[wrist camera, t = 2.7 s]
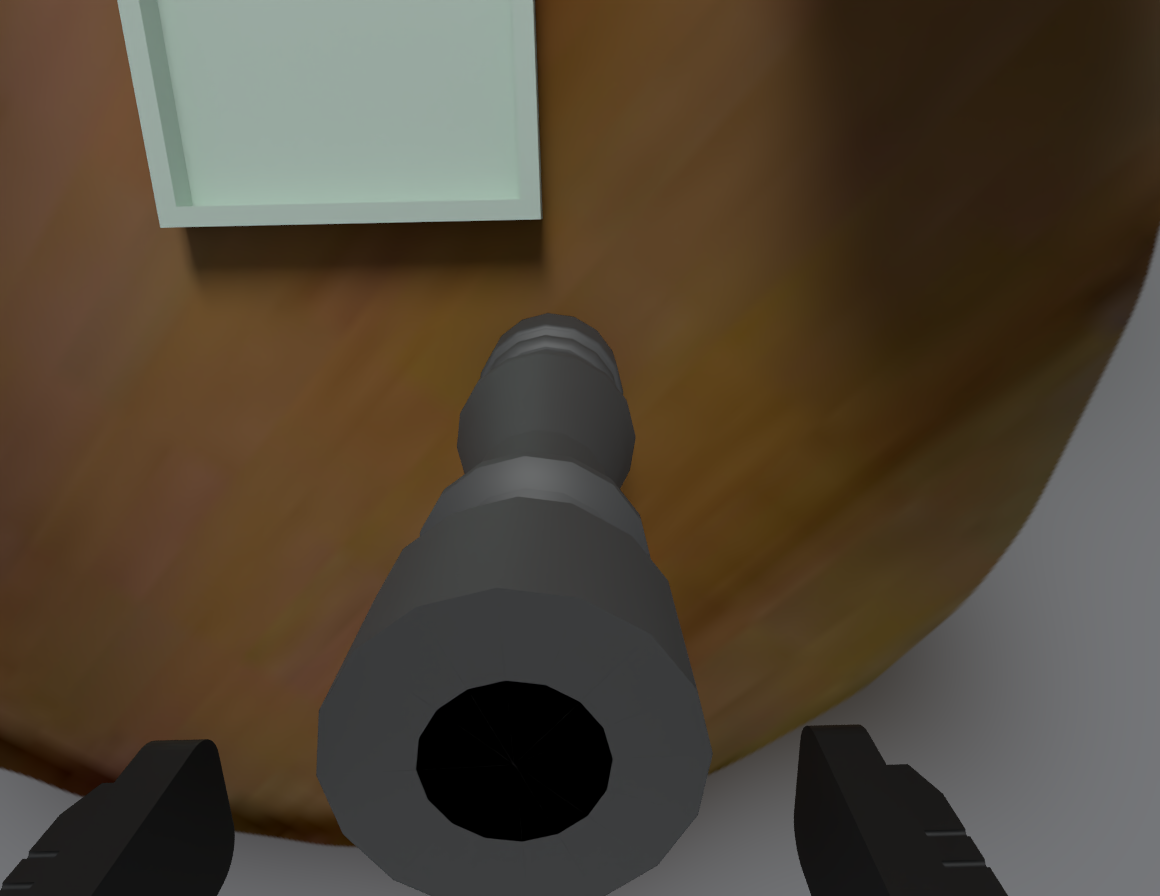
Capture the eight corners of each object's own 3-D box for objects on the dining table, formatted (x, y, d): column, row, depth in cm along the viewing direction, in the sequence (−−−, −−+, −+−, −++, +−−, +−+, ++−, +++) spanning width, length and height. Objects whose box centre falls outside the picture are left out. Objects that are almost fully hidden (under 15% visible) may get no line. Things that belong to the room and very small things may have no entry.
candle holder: (558, 467, 36) (536, 985, 12) (458, 385, 34) (208, 780, 10) (645, 374, 34) (820, 747, 10) (545, 284, 33) (485, 477, 9)
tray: (184, 226, 32) (160, 227, 30) (106, -214, 27) (70, -246, 25) (542, 218, 32) (540, 219, 30) (527, -221, 27) (524, -254, 25)
